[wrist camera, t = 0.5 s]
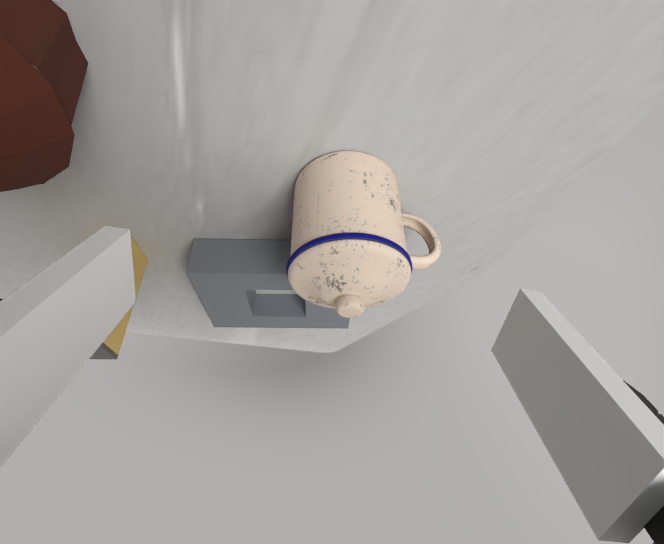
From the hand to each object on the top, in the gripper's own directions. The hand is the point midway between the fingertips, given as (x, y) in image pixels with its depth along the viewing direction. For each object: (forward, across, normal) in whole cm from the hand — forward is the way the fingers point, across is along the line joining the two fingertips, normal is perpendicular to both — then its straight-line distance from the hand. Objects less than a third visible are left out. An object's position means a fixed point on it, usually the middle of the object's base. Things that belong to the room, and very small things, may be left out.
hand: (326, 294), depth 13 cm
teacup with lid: (+21, +3, -2) cm, 21 cm away
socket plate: (+27, -3, -14) cm, 31 cm away
